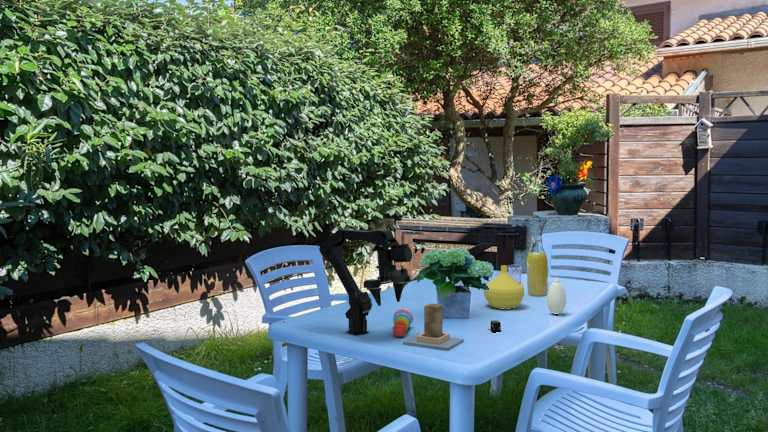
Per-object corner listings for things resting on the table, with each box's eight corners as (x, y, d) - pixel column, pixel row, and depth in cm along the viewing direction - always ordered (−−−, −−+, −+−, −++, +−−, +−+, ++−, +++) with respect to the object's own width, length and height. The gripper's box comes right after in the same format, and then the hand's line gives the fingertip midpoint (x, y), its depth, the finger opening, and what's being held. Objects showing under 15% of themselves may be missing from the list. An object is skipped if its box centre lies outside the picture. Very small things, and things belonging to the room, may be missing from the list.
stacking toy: (397, 328, 273) (391, 344, 255) (391, 310, 273) (384, 324, 254) (415, 323, 272) (410, 339, 254) (409, 305, 271) (404, 319, 253)
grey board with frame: (402, 344, 245) (402, 336, 245) (420, 335, 257) (420, 328, 257) (448, 350, 236) (448, 342, 236) (463, 341, 249) (463, 333, 248)
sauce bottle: (558, 317, 287) (558, 275, 286) (543, 314, 294) (543, 273, 292) (569, 314, 292) (569, 273, 291) (554, 312, 298) (554, 271, 297)
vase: (475, 307, 310) (475, 265, 309) (500, 301, 322) (500, 261, 321) (507, 313, 296) (507, 270, 295) (532, 307, 309) (532, 265, 307)
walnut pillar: (424, 341, 246) (424, 305, 245) (430, 338, 250) (430, 303, 249) (436, 342, 243) (436, 307, 243) (442, 339, 248) (442, 304, 247)
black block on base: (482, 329, 269) (482, 318, 269) (500, 328, 270) (500, 317, 270) (491, 337, 257) (491, 325, 257) (509, 336, 258) (509, 324, 258)
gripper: (379, 266, 243) (383, 309, 243) (418, 260, 254) (421, 301, 255) (360, 265, 251) (364, 307, 252) (399, 259, 263) (402, 299, 263)
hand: (389, 303), depth 255 cm, fingers open, 9 cm apart
